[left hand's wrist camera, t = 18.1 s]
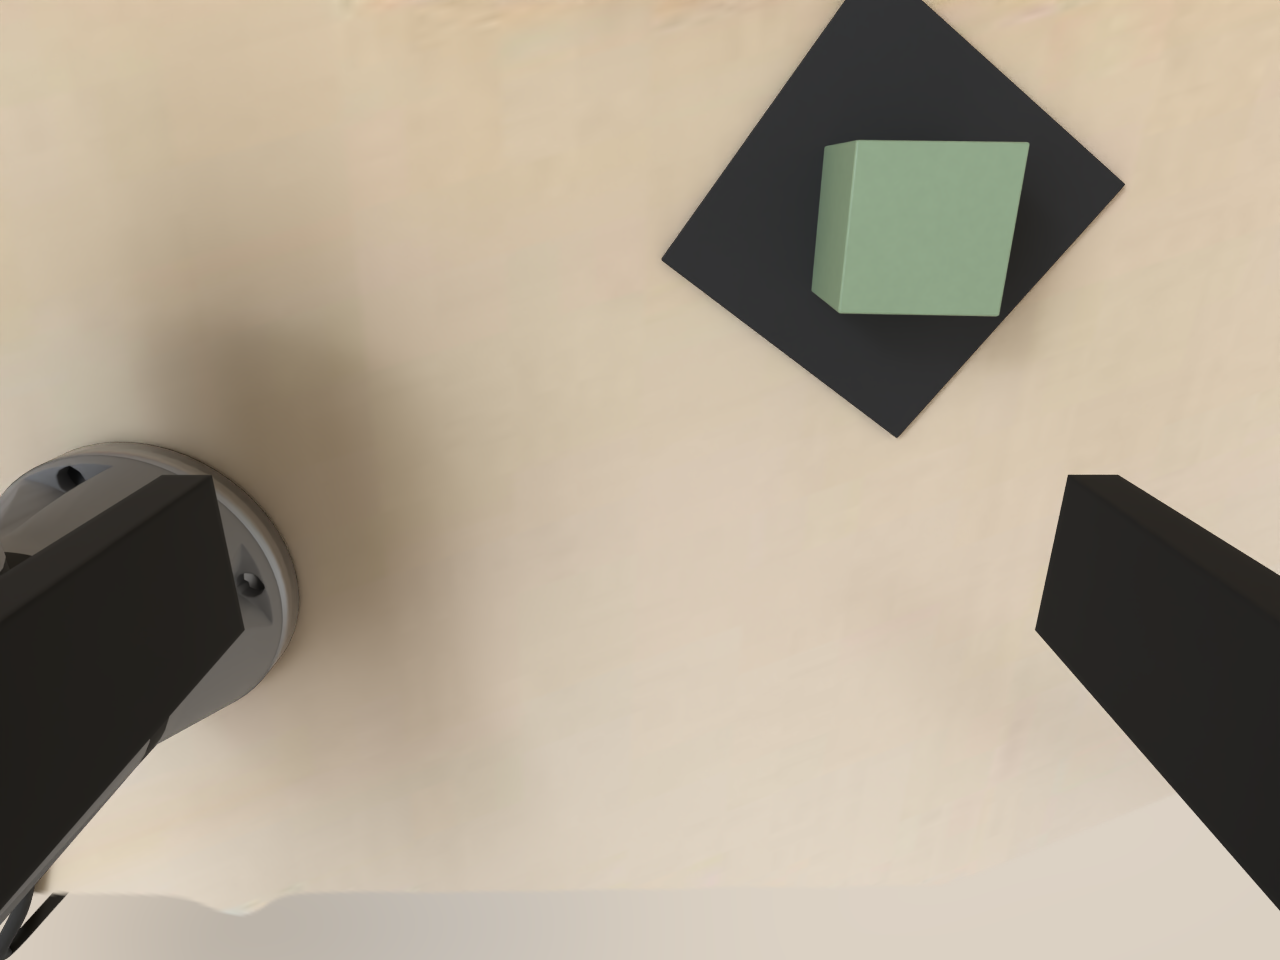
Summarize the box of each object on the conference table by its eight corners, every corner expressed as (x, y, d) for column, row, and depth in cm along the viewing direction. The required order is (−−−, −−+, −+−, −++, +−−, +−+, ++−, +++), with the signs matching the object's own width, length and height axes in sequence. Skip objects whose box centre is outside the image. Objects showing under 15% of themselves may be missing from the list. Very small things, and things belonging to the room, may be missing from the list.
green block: (946, 294, 35) (999, 316, 29) (810, 291, 35) (838, 313, 29) (968, 147, 33) (1031, 141, 27) (824, 145, 33) (856, 139, 27)
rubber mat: (894, 435, 38) (897, 438, 37) (661, 259, 35) (661, 259, 35) (1120, 184, 33) (1125, 184, 33) (873, -40, 31) (875, -43, 30)
